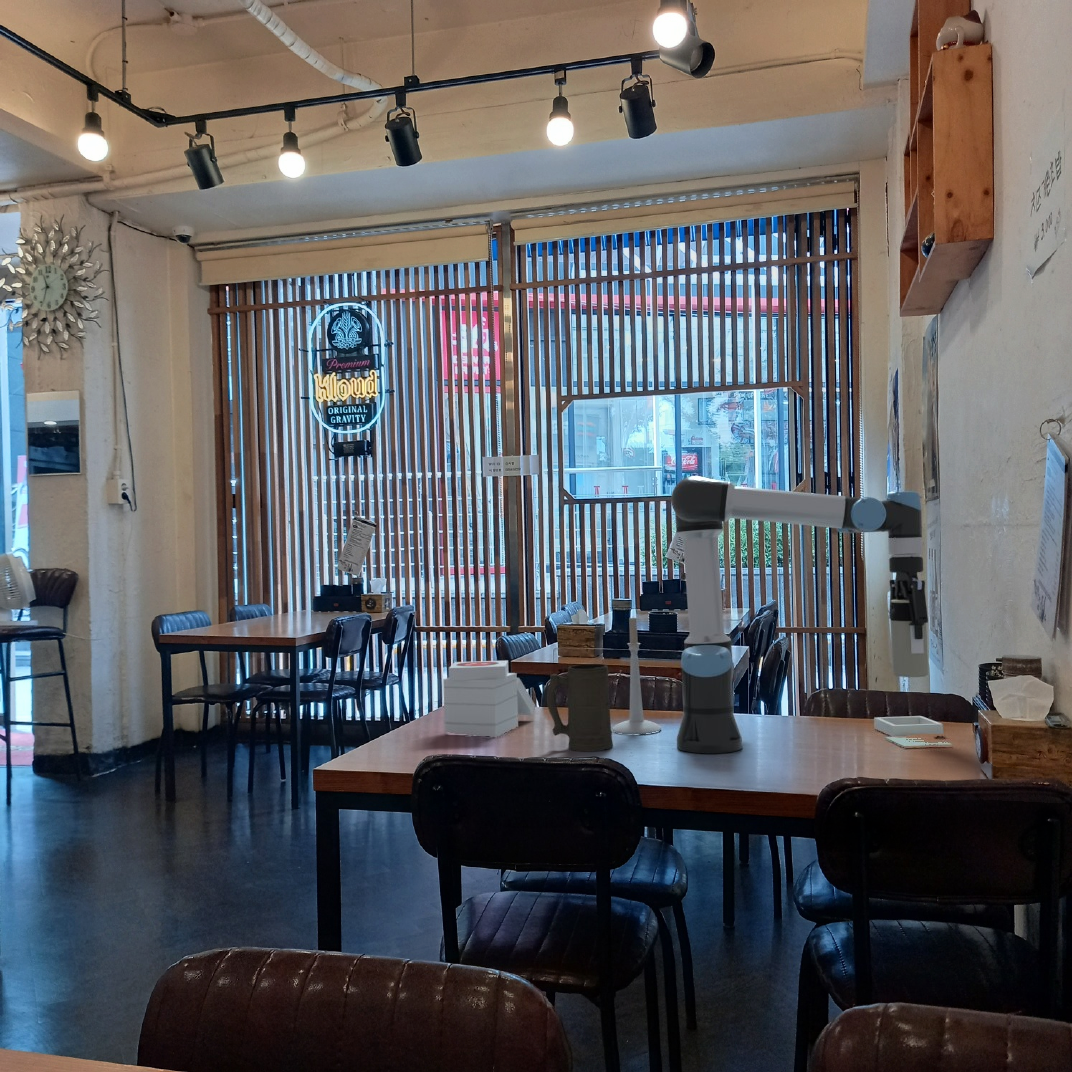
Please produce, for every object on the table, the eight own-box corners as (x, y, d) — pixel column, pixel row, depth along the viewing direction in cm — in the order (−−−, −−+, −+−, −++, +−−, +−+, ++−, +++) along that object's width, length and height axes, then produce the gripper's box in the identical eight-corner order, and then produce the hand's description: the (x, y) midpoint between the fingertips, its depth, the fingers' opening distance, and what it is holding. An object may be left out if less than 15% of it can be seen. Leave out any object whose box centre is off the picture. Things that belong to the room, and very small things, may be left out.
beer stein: (609, 741, 229) (601, 660, 229) (621, 749, 218) (612, 665, 218) (549, 749, 226) (541, 668, 226) (557, 758, 215) (549, 672, 216)
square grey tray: (893, 738, 221) (893, 725, 221) (874, 729, 233) (874, 717, 233) (943, 736, 221) (942, 724, 222) (921, 727, 233) (921, 715, 234)
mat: (904, 748, 209) (904, 746, 209) (885, 739, 220) (885, 737, 220) (952, 747, 209) (952, 744, 209) (930, 738, 220) (930, 735, 220)
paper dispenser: (542, 719, 264) (540, 656, 264) (499, 739, 236) (497, 668, 237) (481, 717, 271) (479, 655, 271) (432, 736, 243) (431, 667, 244)
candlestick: (660, 726, 248) (656, 614, 249) (662, 734, 235) (658, 617, 236) (612, 726, 249) (609, 615, 250) (611, 735, 236) (607, 618, 237)
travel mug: (923, 678, 215) (920, 600, 215) (888, 676, 219) (885, 600, 220) (931, 674, 221) (929, 599, 222) (897, 672, 226) (894, 599, 226)
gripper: (942, 555, 211) (945, 655, 210) (901, 556, 231) (905, 647, 231) (910, 556, 210) (913, 656, 210) (872, 556, 231) (875, 647, 230)
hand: (909, 651), depth 220 cm, fingers closed on travel mug, 8 cm apart
